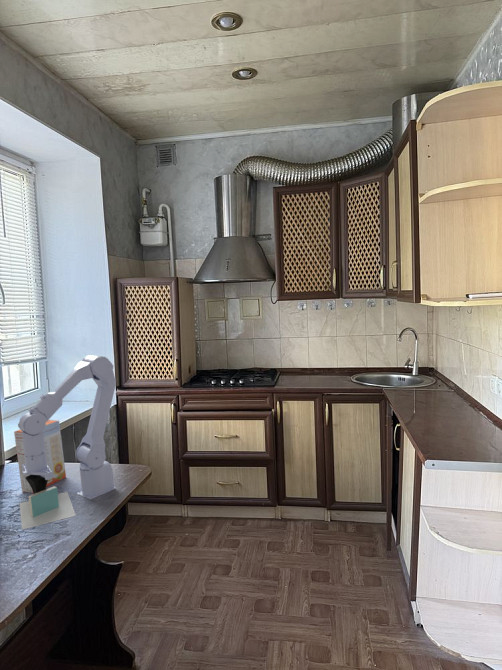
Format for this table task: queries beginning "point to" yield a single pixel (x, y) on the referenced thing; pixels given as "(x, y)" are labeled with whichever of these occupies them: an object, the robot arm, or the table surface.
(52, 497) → the tile
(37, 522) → the mat
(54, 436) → the cracker box
